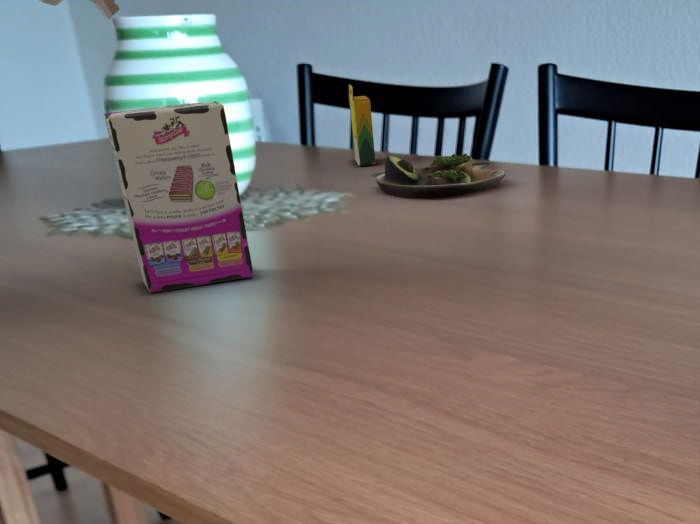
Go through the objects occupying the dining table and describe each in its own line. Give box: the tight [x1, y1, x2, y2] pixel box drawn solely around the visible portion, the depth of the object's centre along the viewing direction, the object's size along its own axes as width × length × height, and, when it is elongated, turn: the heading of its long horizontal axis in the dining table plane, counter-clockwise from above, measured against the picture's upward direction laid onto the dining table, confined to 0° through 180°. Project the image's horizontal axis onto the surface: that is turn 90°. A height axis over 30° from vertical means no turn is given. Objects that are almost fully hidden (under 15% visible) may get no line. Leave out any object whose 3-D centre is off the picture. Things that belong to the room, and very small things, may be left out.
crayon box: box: [348, 83, 376, 167], centre depth 167 cm, size 7×3×12 cm, turn 11°
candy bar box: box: [103, 100, 254, 293], centre depth 102 cm, size 11×5×16 cm, turn 114°
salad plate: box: [369, 152, 506, 200], centre depth 147 cm, size 19×18×5 cm
